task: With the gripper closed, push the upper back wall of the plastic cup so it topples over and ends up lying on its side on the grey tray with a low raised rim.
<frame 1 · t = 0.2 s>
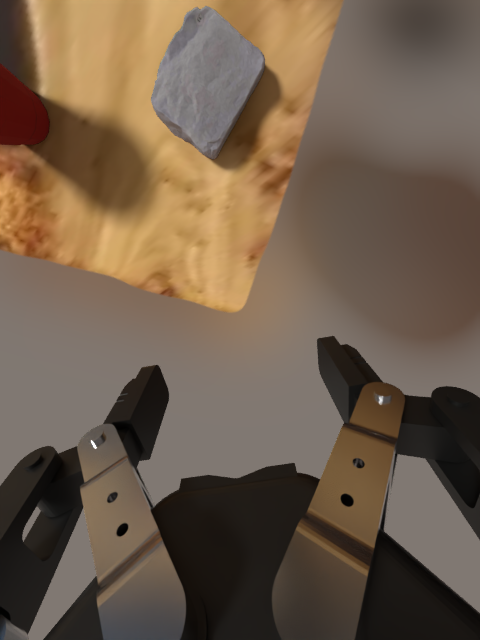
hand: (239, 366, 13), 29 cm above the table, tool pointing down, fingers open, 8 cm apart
stone block: (205, 92, 31), on the table
plastic cup: (25, 114, 31), on the table
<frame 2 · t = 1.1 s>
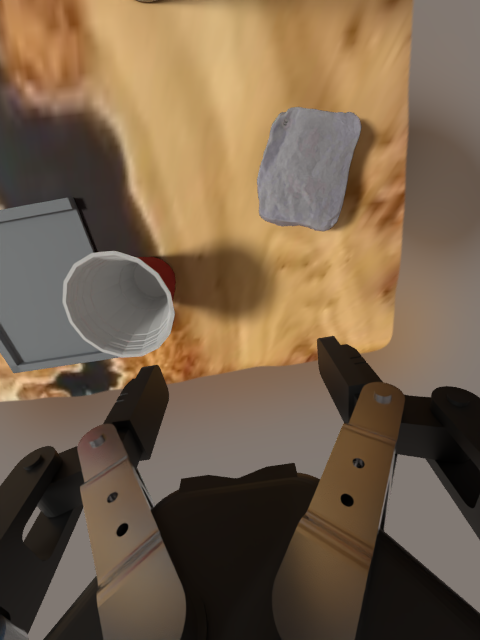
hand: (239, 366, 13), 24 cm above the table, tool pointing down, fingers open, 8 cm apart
stone block: (297, 175, 31), on the table
grey tray: (42, 295, 36), on the table
plastic cup: (153, 276, 35), on the table
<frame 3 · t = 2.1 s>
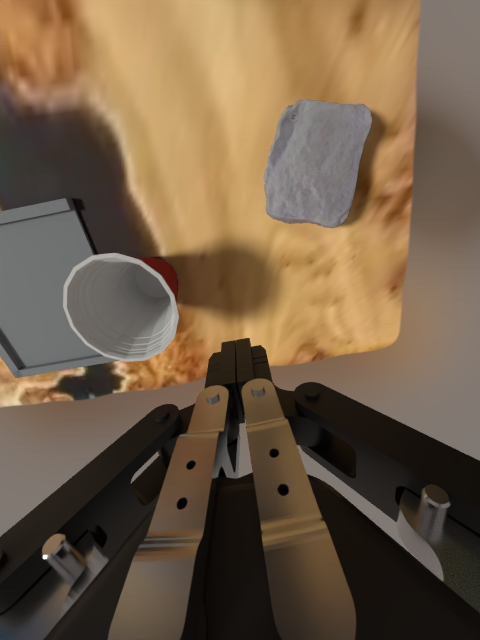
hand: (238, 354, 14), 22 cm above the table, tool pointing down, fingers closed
stone block: (305, 170, 30), on the table
grey tray: (42, 298, 35), on the table
plastic cup: (155, 277, 34), on the table
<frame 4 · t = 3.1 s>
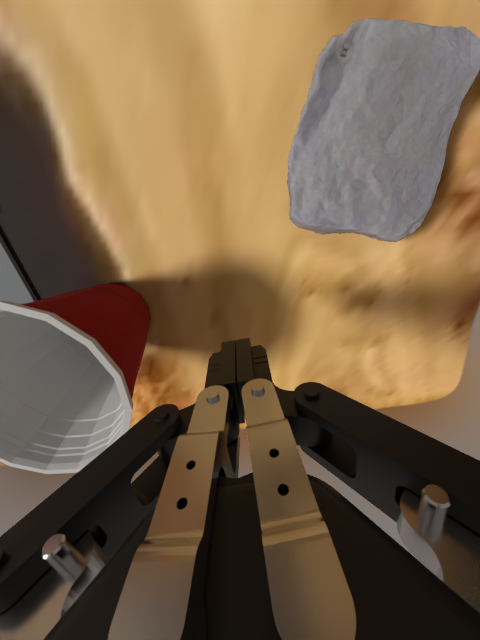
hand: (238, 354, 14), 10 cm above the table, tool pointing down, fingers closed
stone block: (350, 152, 19), on the table
plastic cup: (118, 309, 24), on the table
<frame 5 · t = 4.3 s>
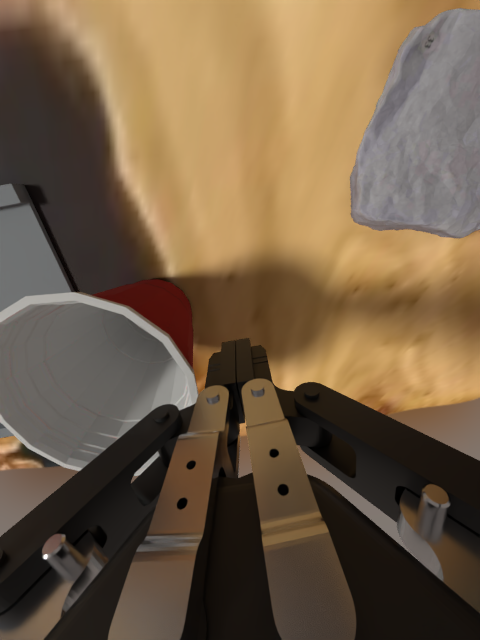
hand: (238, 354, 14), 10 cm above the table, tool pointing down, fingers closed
stone block: (413, 147, 19), on the table
plastic cup: (158, 306, 23), on the table, touching gripper
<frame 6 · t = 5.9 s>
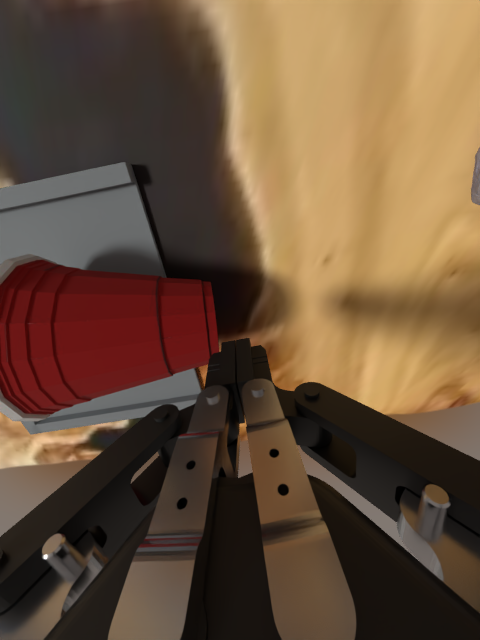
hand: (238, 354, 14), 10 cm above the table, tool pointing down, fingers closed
grey tray: (74, 324, 23), on the table
plastic cup: (217, 317, 19), point 4 cm above the table, touching grey tray
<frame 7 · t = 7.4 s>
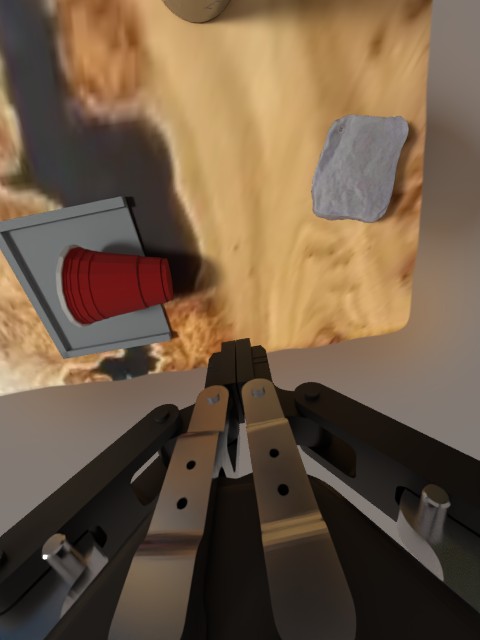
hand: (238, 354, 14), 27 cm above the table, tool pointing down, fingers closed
stone block: (346, 173, 34), on the table
grey tray: (92, 286, 40), on the table
plastic cup: (171, 278, 35), point 4 cm above the table, touching grey tray
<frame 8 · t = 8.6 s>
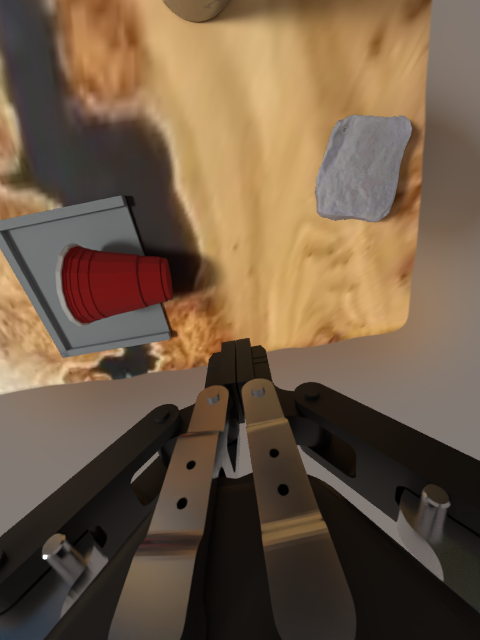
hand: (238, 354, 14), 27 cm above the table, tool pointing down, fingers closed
stone block: (349, 173, 34), on the table
grey tray: (91, 285, 40), on the table
plastic cup: (170, 277, 35), point 4 cm above the table, touching grey tray
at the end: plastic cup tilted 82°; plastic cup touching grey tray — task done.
